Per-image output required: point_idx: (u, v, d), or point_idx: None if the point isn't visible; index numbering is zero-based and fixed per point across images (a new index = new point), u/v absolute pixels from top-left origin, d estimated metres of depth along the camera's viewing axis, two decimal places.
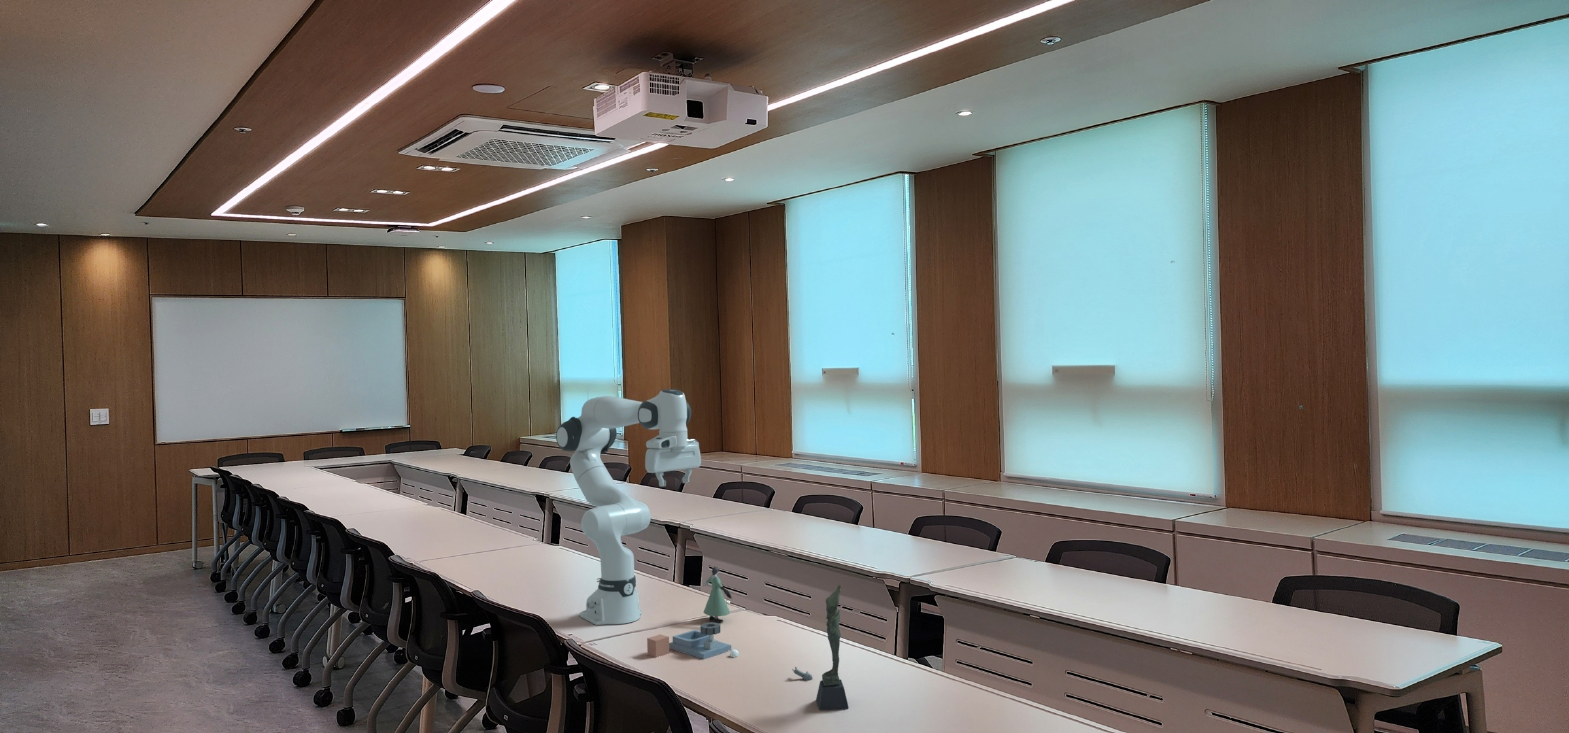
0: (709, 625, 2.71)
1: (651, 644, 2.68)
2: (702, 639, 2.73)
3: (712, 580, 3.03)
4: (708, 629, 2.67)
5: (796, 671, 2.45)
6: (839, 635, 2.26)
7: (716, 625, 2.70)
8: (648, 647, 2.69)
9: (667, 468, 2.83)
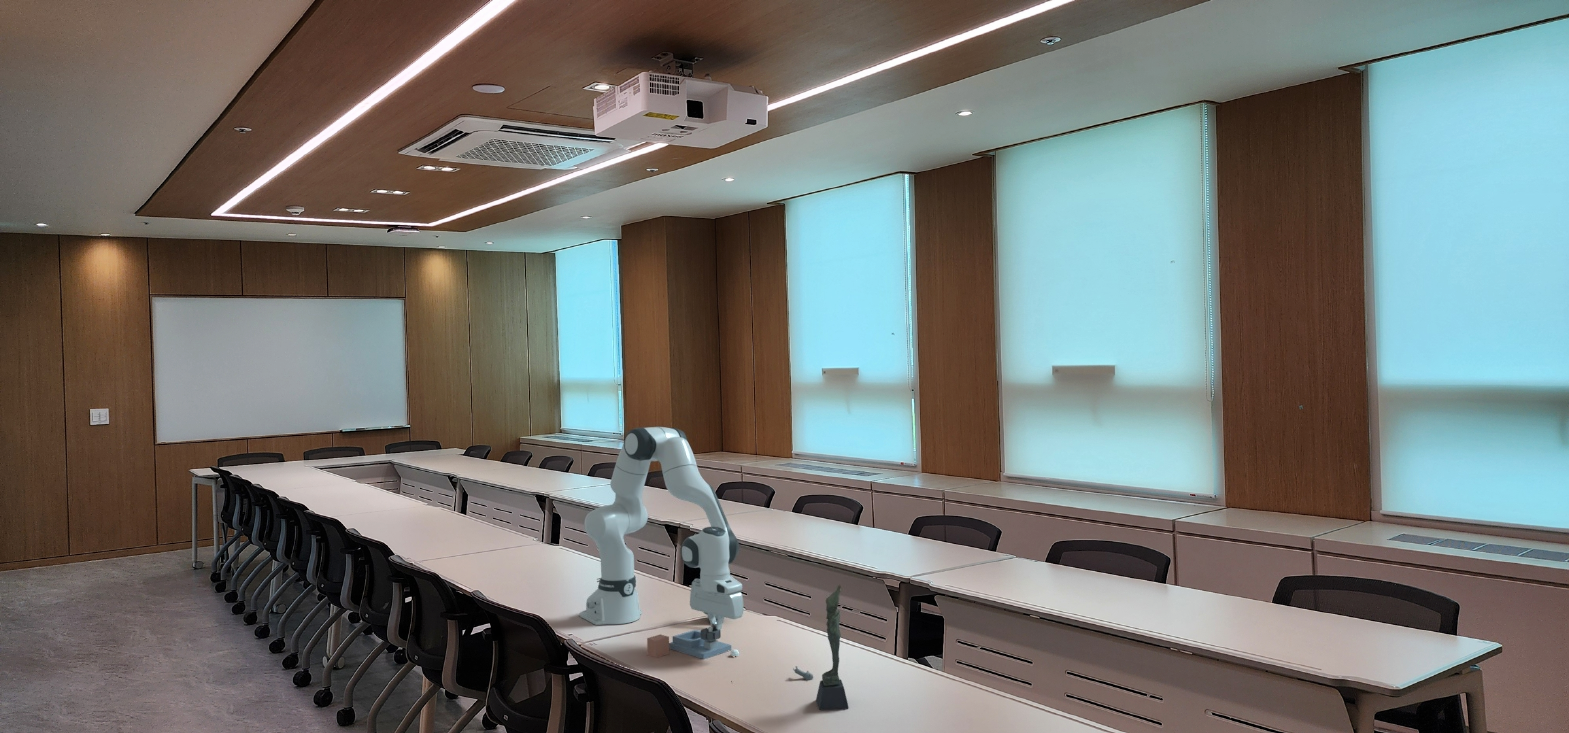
0: None
1: (651, 644, 2.68)
2: (702, 639, 2.73)
3: None
4: (708, 634, 2.67)
5: (797, 670, 2.46)
6: (839, 635, 2.26)
7: (716, 630, 2.70)
8: (648, 647, 2.69)
9: None
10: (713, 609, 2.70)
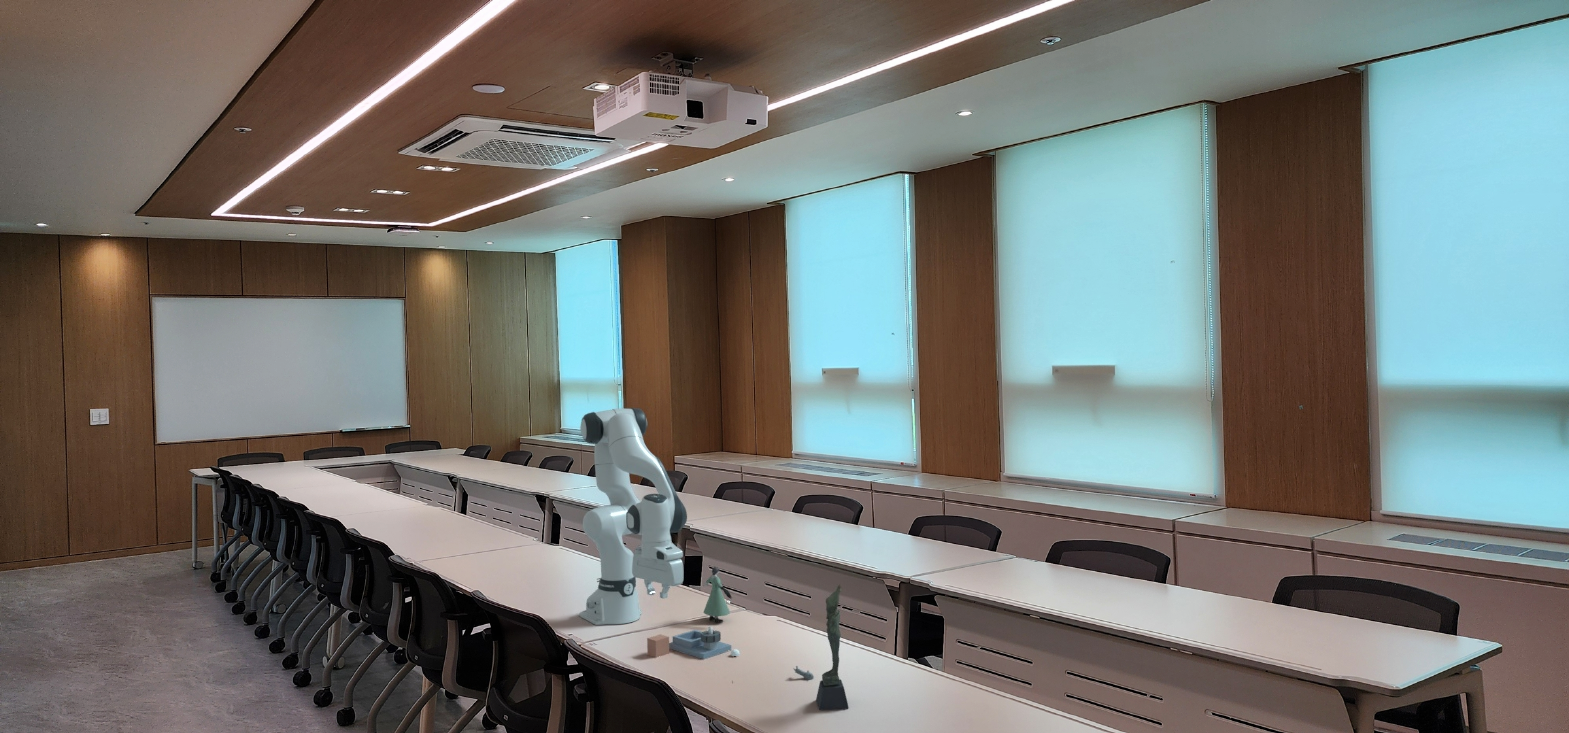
0: None
1: (651, 644, 2.68)
2: None
3: (712, 580, 3.03)
4: (708, 637, 2.67)
5: (797, 670, 2.46)
6: (839, 635, 2.26)
7: (716, 633, 2.70)
8: (648, 647, 2.69)
9: None
10: (653, 576, 2.68)
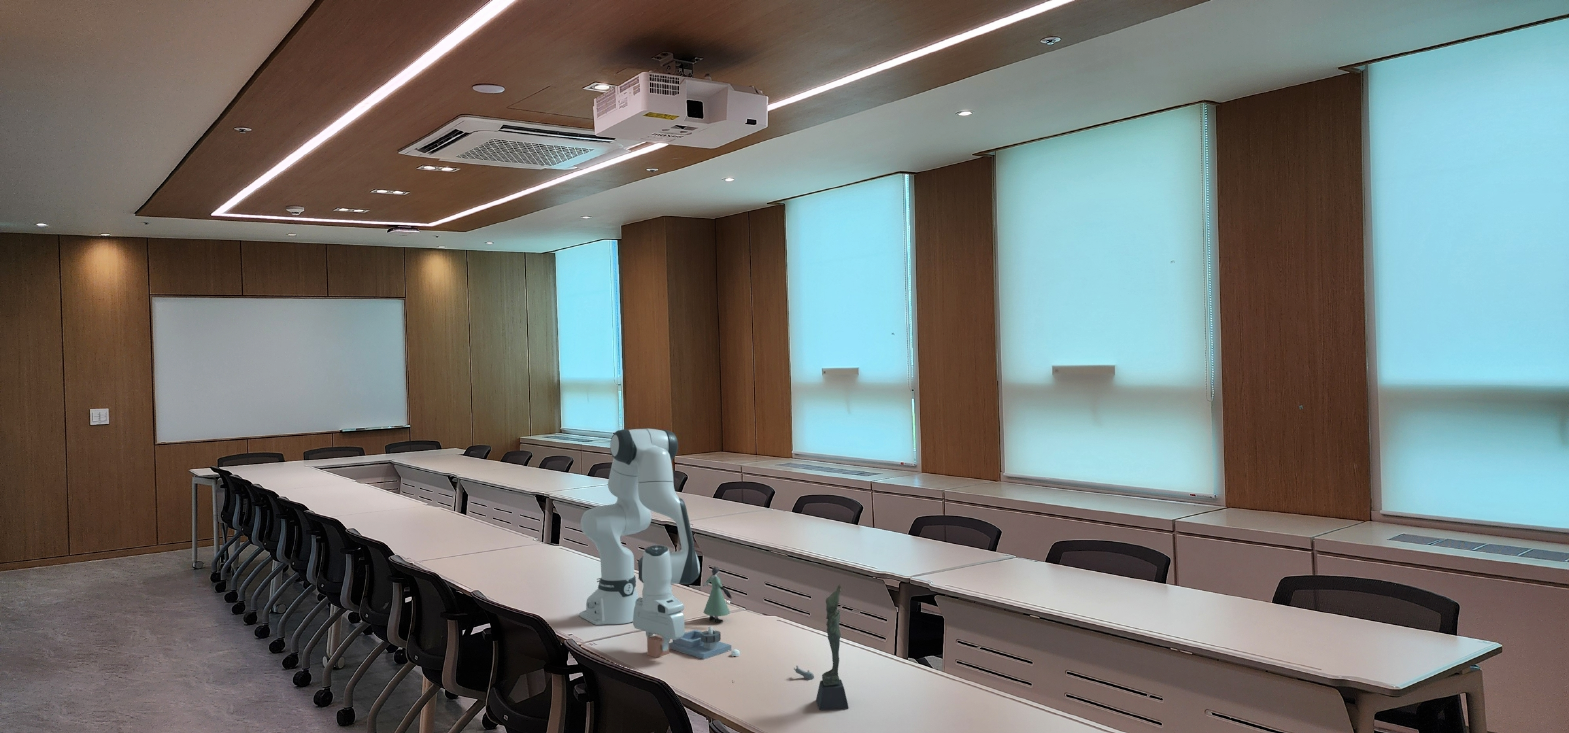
0: None
1: (651, 644, 2.68)
2: None
3: (712, 580, 3.03)
4: (708, 637, 2.67)
5: (797, 670, 2.46)
6: (839, 635, 2.26)
7: (716, 633, 2.70)
8: (648, 647, 2.69)
9: None
10: (654, 629, 2.68)
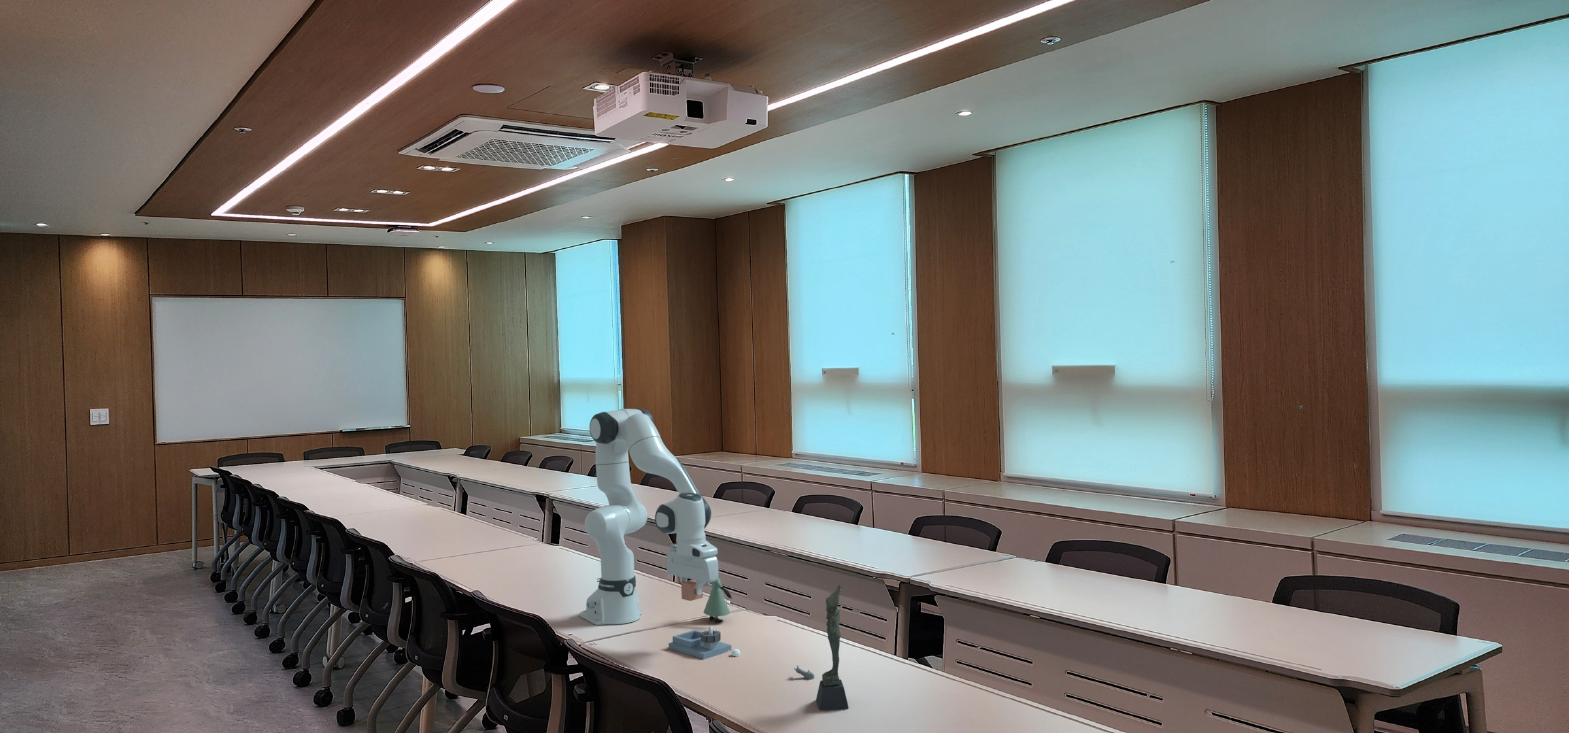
0: None
1: (685, 588, 2.74)
2: None
3: None
4: (708, 637, 2.67)
5: (798, 670, 2.46)
6: (839, 635, 2.26)
7: (716, 633, 2.70)
8: (682, 591, 2.75)
9: None
10: (688, 573, 2.74)
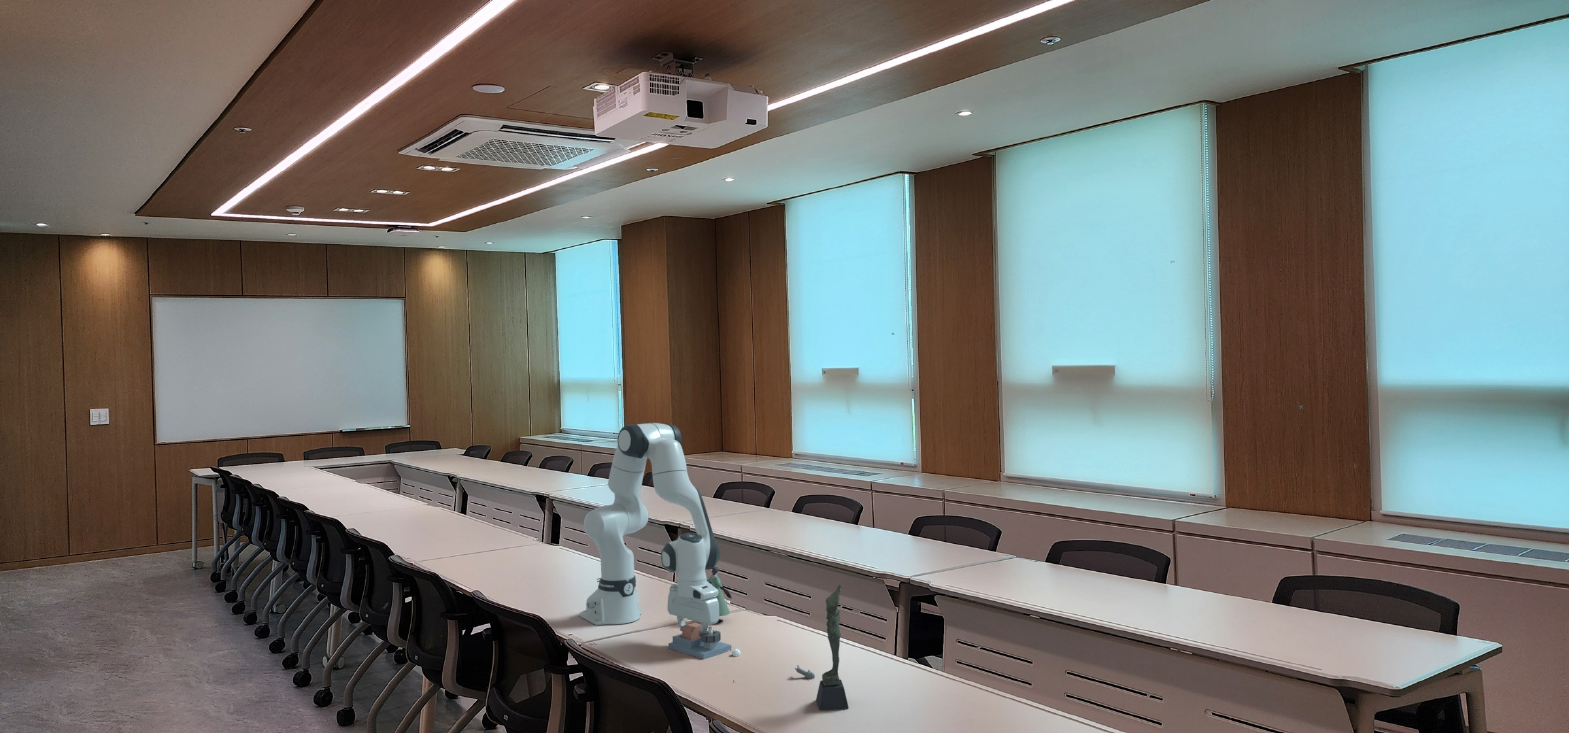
0: None
1: (686, 632, 2.74)
2: None
3: (712, 580, 3.03)
4: (708, 637, 2.67)
5: (798, 669, 2.46)
6: (839, 635, 2.26)
7: (716, 633, 2.70)
8: (683, 635, 2.75)
9: None
10: (689, 614, 2.74)
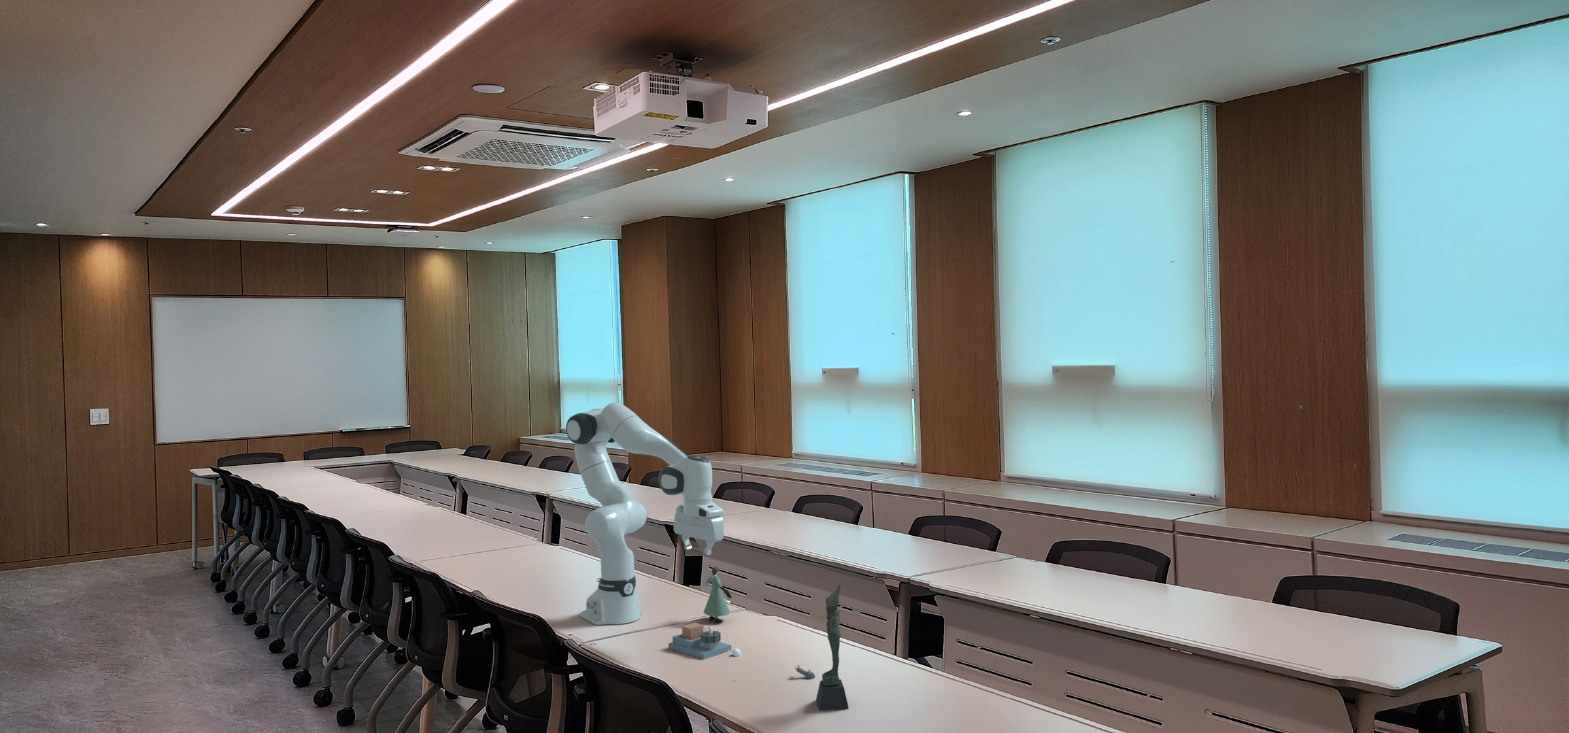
0: None
1: (686, 632, 2.74)
2: None
3: (712, 580, 3.03)
4: (708, 637, 2.67)
5: (799, 669, 2.47)
6: (839, 635, 2.26)
7: (716, 633, 2.70)
8: (683, 635, 2.75)
9: None
10: (694, 533, 2.83)
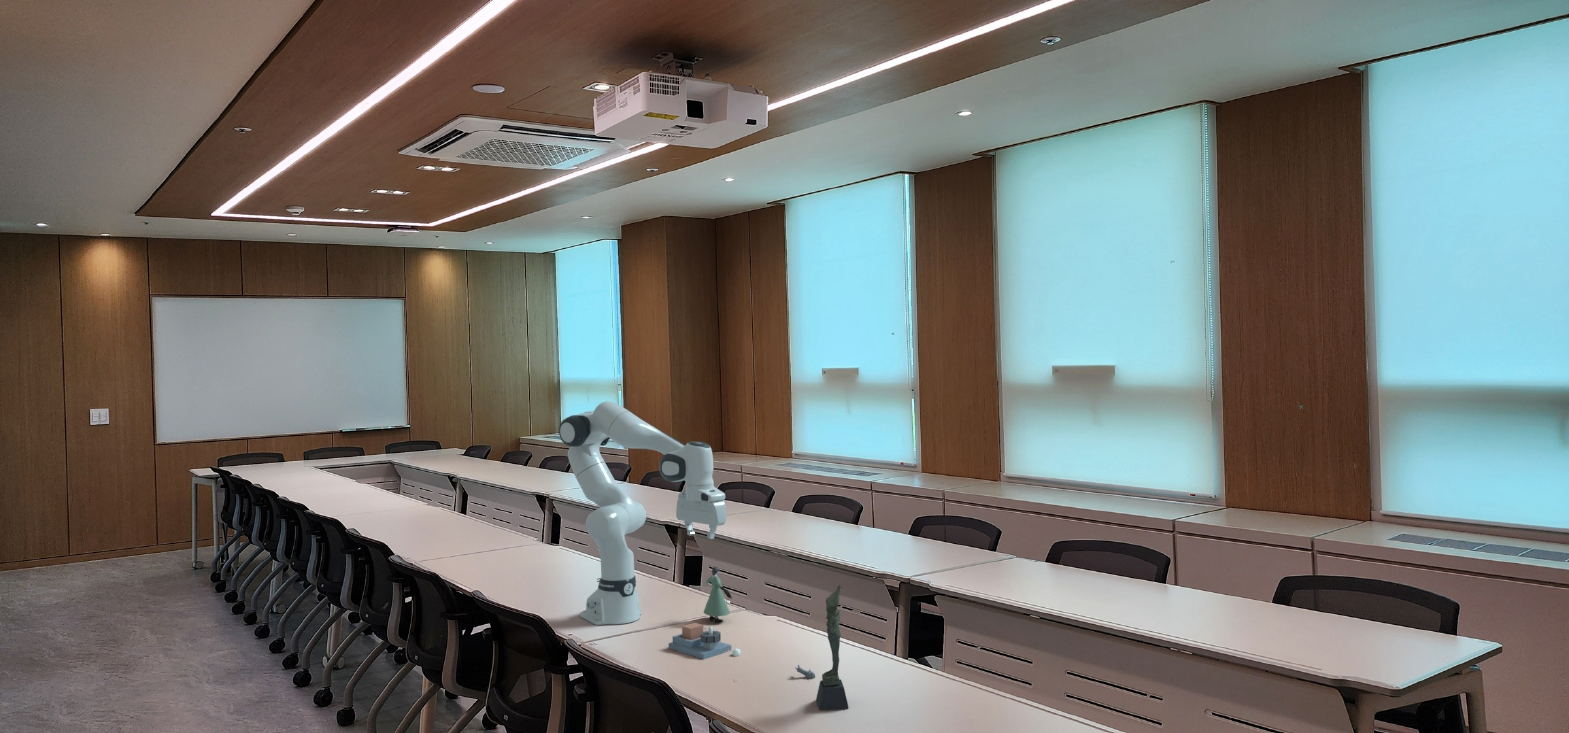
0: None
1: (686, 632, 2.74)
2: None
3: (712, 580, 3.03)
4: (708, 637, 2.67)
5: (799, 669, 2.47)
6: (839, 635, 2.26)
7: (716, 633, 2.70)
8: (683, 635, 2.75)
9: None
10: (697, 518, 2.86)
